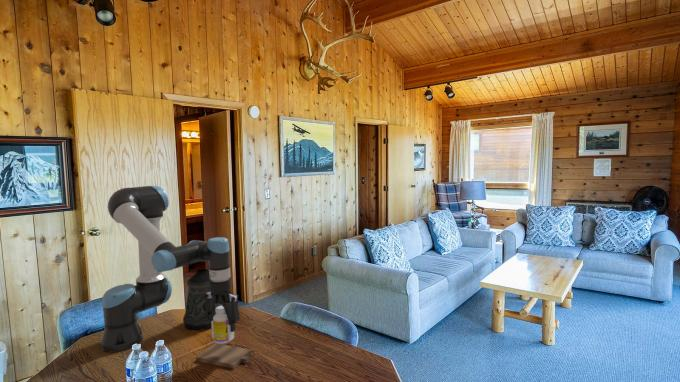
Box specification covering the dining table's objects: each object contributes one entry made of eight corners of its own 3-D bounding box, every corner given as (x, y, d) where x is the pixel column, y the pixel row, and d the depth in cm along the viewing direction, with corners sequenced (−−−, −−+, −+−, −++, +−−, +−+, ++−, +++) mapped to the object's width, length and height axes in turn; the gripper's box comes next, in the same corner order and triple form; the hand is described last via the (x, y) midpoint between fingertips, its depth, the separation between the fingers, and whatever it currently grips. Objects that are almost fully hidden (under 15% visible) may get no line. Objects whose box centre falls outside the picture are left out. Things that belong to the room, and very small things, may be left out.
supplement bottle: (227, 345, 136) (225, 311, 135) (210, 344, 138) (208, 310, 137) (235, 336, 143) (234, 304, 142) (220, 335, 144) (218, 303, 143)
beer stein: (178, 323, 172) (174, 270, 169) (217, 311, 185) (215, 262, 183) (191, 335, 159) (188, 278, 157) (233, 321, 173) (230, 269, 170)
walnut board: (196, 360, 139) (195, 357, 139) (215, 346, 149) (215, 343, 149) (239, 369, 132) (239, 365, 132) (256, 354, 142) (256, 350, 142)
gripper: (192, 279, 138) (195, 338, 140) (236, 284, 131) (239, 346, 133) (205, 273, 145) (209, 330, 147) (248, 278, 138) (250, 337, 140)
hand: (223, 337), depth 140 cm, fingers closed on supplement bottle, 7 cm apart
